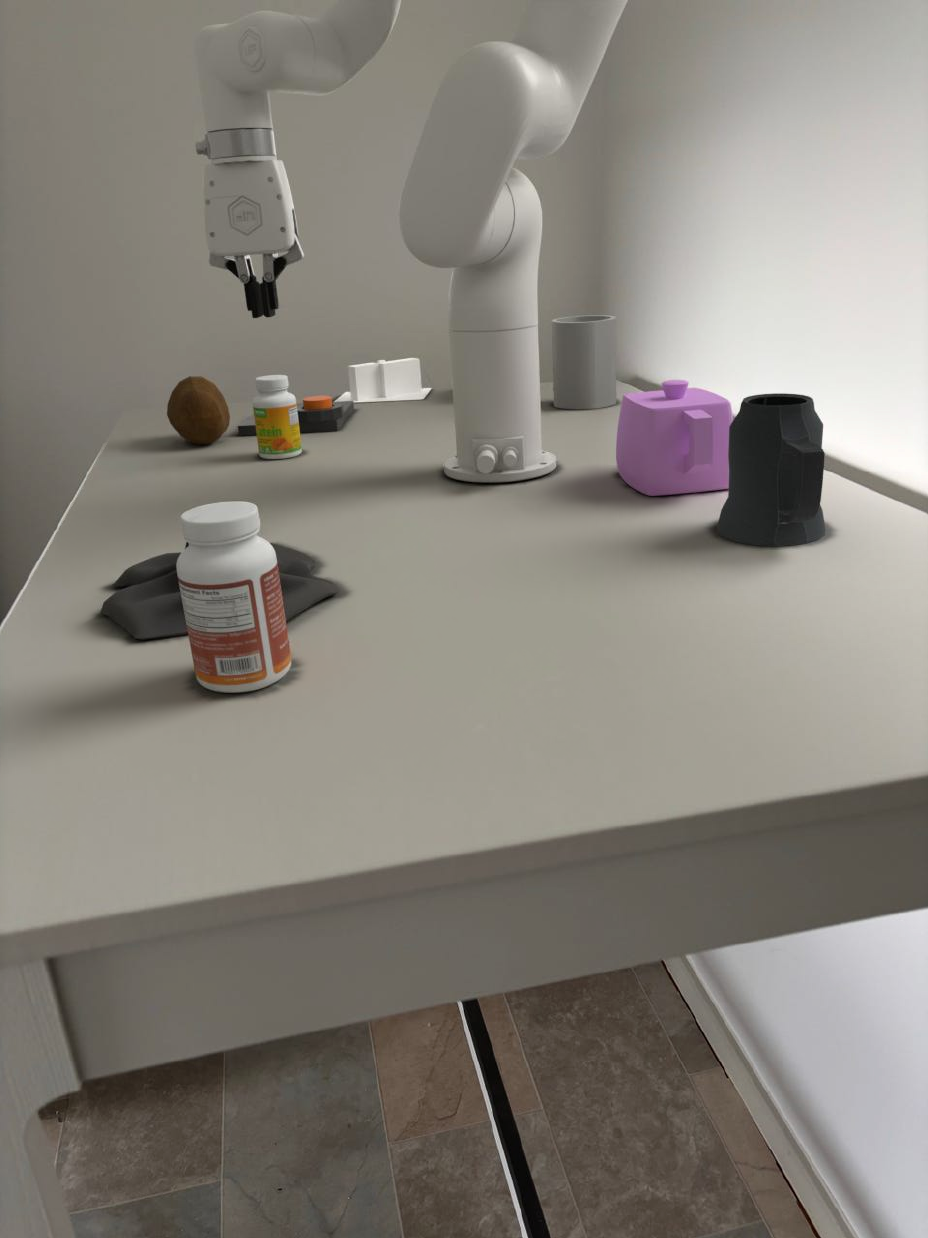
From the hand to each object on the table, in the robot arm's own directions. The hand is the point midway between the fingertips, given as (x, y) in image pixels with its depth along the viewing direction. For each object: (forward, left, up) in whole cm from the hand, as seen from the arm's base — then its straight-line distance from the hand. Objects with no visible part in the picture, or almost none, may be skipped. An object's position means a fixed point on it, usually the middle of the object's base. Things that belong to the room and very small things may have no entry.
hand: (264, 315), depth 123 cm
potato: (+12, +14, -17) cm, 25 cm away
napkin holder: (+42, -8, -17) cm, 46 cm away
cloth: (-50, -6, -17) cm, 53 cm away
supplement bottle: (0, 0, -17) cm, 17 cm away
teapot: (-22, -46, -17) cm, 54 cm away
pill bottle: (-67, -12, -17) cm, 70 cm away
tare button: (+17, -2, -14) cm, 22 cm away
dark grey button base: (+22, +2, -17) cm, 28 cm away
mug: (-42, -52, -17) cm, 69 cm away
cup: (+25, -40, -17) cm, 50 cm away
